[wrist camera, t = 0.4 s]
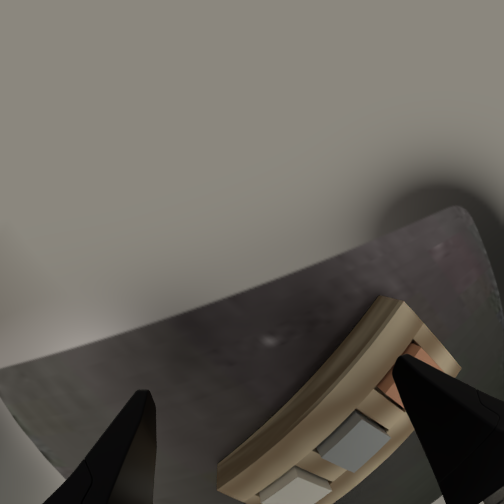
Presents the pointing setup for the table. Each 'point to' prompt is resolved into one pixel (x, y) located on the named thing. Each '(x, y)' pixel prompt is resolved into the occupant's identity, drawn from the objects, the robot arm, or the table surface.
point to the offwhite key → (295, 488)
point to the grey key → (353, 442)
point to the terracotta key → (387, 381)
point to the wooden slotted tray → (335, 407)
